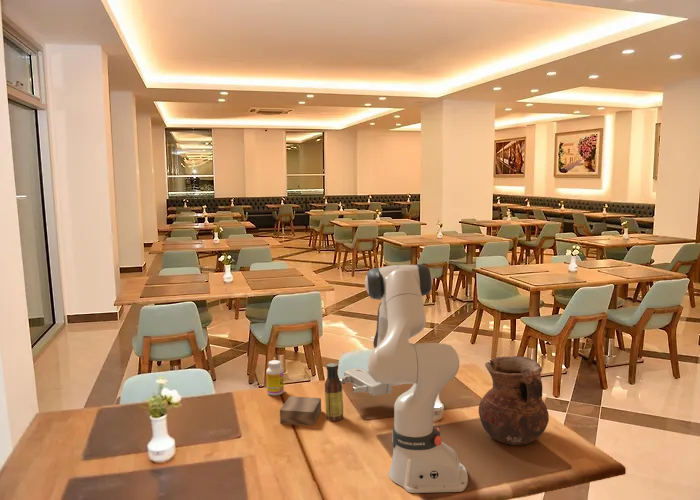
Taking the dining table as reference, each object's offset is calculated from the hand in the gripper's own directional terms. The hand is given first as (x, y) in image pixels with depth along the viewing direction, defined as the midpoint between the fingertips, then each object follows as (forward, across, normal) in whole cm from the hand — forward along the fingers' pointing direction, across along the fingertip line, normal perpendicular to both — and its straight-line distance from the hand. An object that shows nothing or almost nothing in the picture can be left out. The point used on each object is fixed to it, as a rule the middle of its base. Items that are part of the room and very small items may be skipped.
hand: (346, 385), depth 195 cm
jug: (-37, +44, +11) cm, 59 cm away
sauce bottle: (+5, 0, +11) cm, 12 cm away
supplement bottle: (+14, -33, +11) cm, 37 cm away
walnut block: (+15, -7, +11) cm, 20 cm away
